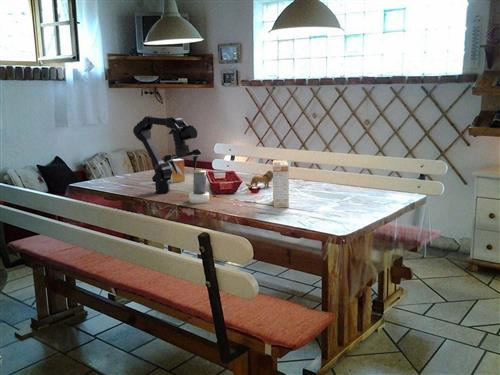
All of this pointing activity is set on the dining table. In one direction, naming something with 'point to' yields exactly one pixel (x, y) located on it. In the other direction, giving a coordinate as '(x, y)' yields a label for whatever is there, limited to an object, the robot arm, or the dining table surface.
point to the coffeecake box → (280, 183)
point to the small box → (180, 170)
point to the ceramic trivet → (199, 198)
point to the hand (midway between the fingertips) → (186, 171)
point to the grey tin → (199, 182)
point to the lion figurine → (263, 179)
